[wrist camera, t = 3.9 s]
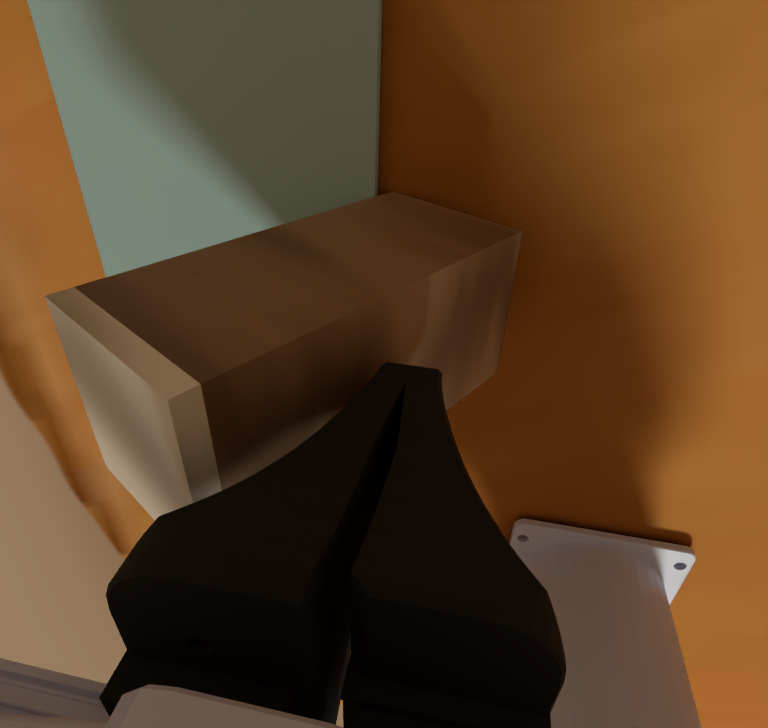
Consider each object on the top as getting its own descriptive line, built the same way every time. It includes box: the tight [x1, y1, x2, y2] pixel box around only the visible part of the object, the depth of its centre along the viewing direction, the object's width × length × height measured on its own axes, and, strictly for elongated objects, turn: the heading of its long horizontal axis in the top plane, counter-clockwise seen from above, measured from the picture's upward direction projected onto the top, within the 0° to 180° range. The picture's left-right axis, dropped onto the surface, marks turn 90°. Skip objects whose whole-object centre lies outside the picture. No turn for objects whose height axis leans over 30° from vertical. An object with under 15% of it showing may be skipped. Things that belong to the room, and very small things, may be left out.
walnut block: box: [45, 191, 523, 520], centre depth 15 cm, size 5×5×11 cm
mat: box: [27, 0, 382, 277], centre depth 20 cm, size 16×11×1 cm
